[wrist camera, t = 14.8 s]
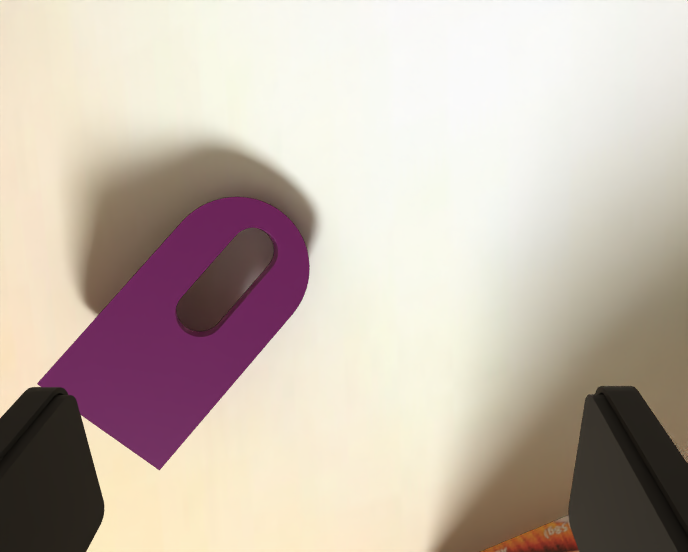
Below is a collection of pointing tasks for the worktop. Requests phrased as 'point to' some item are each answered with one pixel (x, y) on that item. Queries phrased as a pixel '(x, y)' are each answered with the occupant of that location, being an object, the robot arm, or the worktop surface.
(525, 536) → the pasta box
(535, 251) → the worktop surface
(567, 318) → the worktop surface
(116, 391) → the mounting bracket
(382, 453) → the worktop surface
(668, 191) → the worktop surface
